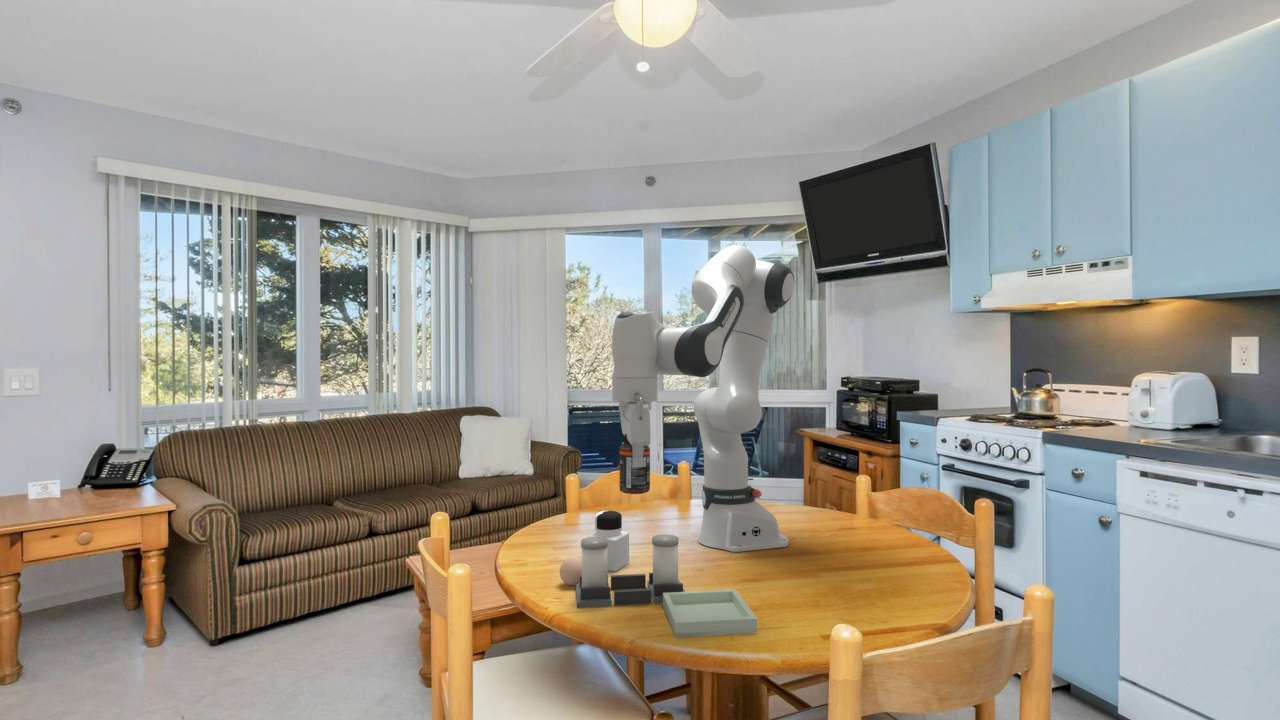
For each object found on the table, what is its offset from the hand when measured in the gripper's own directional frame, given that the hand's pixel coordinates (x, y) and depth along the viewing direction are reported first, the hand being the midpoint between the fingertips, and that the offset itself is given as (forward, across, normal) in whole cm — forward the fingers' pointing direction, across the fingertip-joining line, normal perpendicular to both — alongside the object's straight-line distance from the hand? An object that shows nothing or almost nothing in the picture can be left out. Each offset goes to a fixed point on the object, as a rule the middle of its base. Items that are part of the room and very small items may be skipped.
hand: (635, 463), depth 125 cm
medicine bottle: (+26, +20, +4) cm, 33 cm away
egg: (+26, +8, +12) cm, 30 cm away
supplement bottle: (+6, 0, 0) cm, 6 cm away
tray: (+26, -12, -12) cm, 31 cm away
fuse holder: (+26, +1, +1) cm, 26 cm away
